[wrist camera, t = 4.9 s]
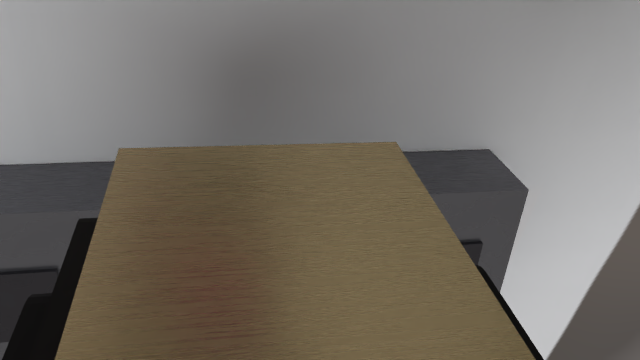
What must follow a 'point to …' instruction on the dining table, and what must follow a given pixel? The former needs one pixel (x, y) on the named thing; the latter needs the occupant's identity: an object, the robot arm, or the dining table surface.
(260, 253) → the brass block
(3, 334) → the grey slotted block
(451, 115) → the dining table surface
